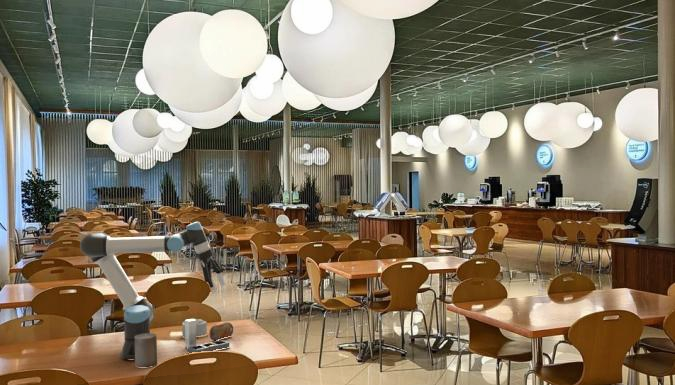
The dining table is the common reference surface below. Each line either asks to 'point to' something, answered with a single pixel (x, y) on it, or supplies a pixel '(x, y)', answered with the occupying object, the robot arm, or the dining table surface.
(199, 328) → the lumpy-topped squat cylinder
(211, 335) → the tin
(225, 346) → the grey compartment tray
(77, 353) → the dining table surface
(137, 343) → the pillar candle
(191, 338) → the zinc square peg
